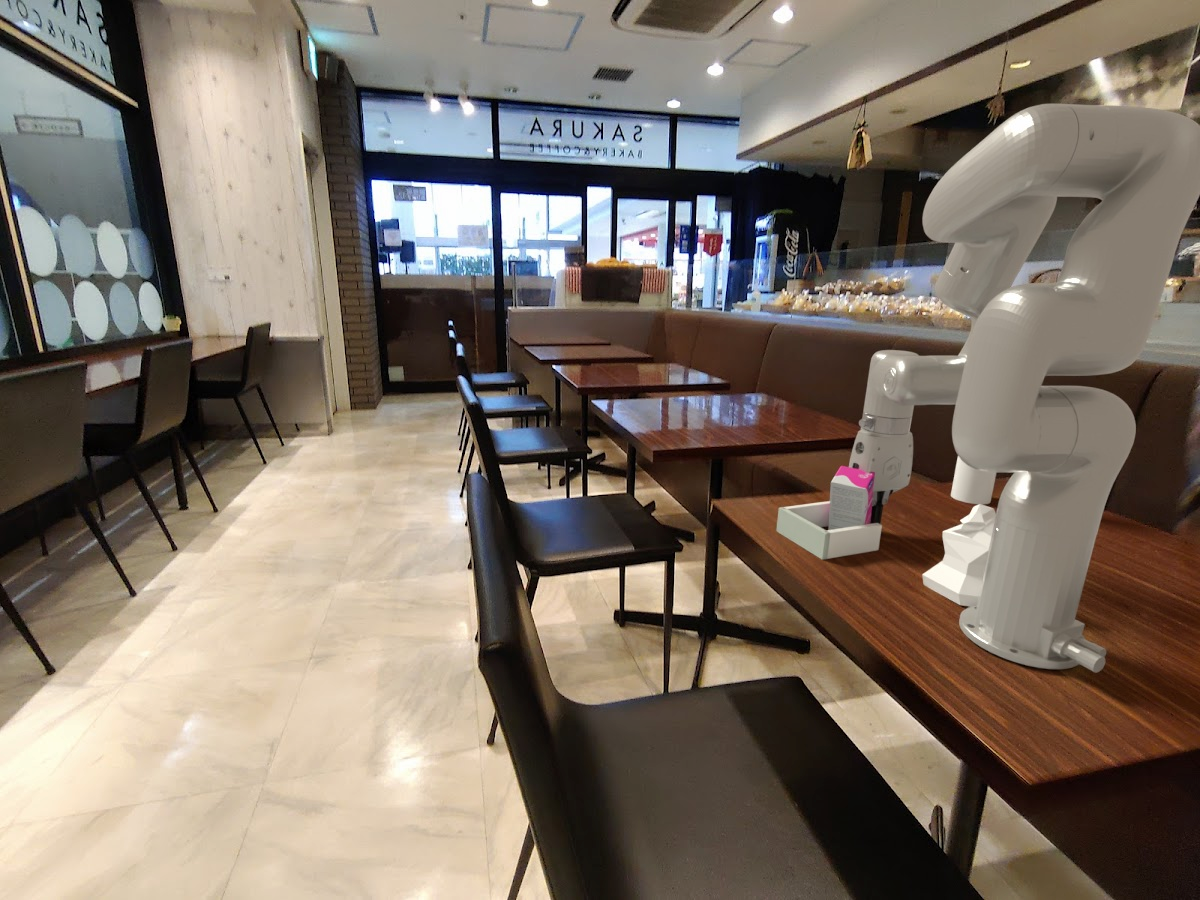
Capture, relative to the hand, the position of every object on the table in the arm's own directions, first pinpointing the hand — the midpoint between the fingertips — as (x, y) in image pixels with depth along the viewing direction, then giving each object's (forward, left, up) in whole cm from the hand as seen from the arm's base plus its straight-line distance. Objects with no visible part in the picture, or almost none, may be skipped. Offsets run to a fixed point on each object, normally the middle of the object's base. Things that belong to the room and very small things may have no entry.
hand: (869, 522), depth 104 cm
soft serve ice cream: (-23, +2, -2) cm, 23 cm away
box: (-1, +10, -2) cm, 10 cm away
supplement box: (0, +5, -1) cm, 5 cm away
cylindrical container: (+7, -34, -2) cm, 35 cm away
